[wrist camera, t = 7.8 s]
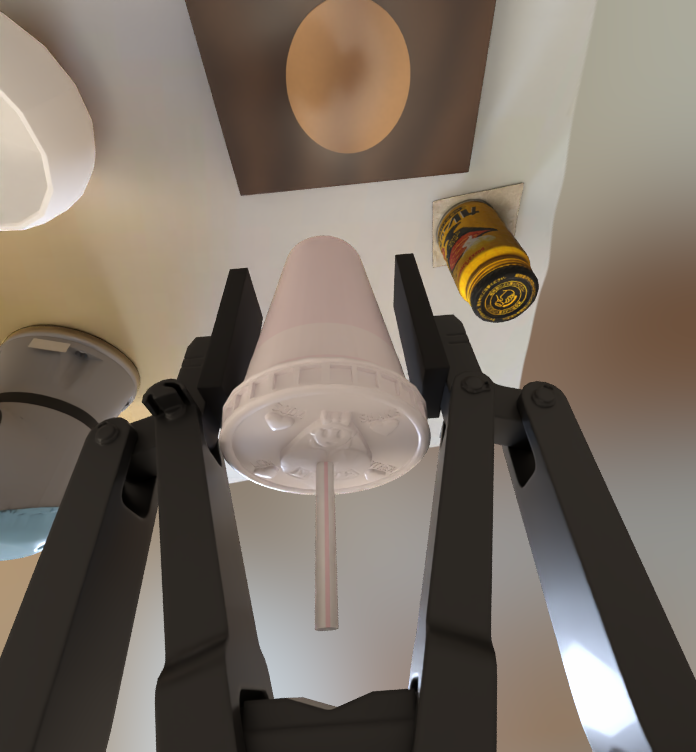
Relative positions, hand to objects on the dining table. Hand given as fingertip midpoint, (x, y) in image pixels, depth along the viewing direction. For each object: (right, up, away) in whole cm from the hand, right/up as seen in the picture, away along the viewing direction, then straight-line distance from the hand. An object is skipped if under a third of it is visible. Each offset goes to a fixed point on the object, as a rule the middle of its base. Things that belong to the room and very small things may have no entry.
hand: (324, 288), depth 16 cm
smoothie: (0, +1, +1) cm, 2 cm away
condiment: (+14, +11, +21) cm, 28 cm away
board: (+1, +18, +11) cm, 22 cm away
